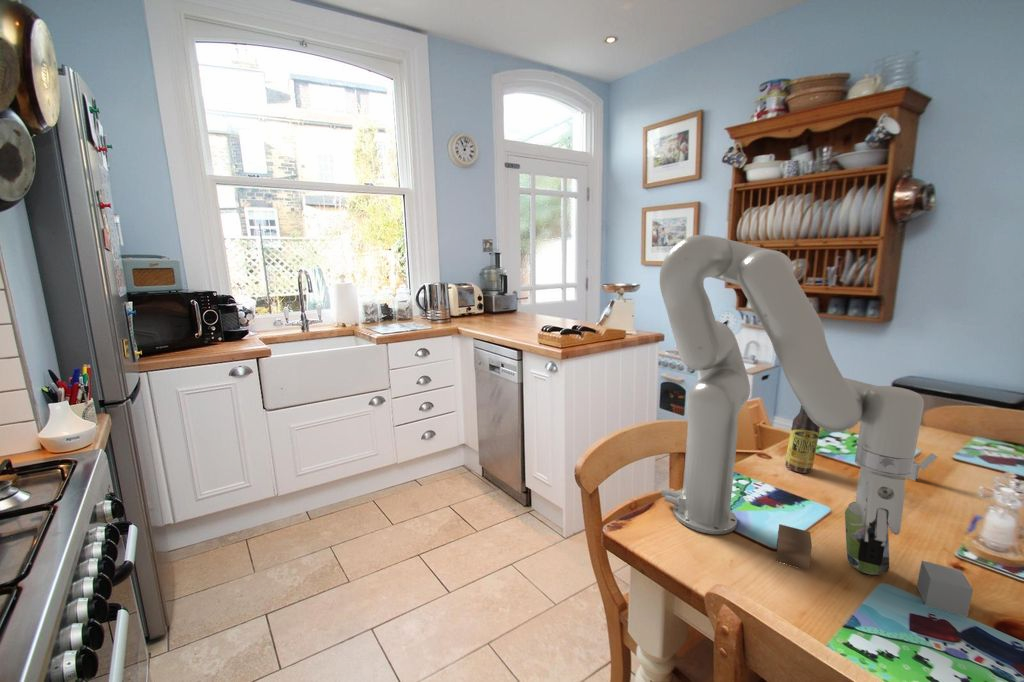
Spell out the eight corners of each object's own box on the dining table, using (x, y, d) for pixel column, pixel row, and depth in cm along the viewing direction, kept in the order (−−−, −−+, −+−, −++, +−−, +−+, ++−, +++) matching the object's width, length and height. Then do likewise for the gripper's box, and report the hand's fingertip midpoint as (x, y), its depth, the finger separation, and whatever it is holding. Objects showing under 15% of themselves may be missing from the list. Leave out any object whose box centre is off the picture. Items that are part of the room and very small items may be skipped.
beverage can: (895, 581, 78) (907, 520, 76) (848, 576, 80) (858, 516, 77) (874, 557, 84) (885, 499, 82) (831, 553, 86) (839, 496, 83)
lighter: (894, 474, 117) (899, 445, 115) (897, 473, 118) (902, 444, 116) (930, 486, 111) (936, 456, 109) (932, 484, 112) (938, 454, 110)
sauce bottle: (787, 472, 118) (796, 399, 114) (782, 462, 124) (791, 392, 120) (816, 476, 116) (827, 402, 112) (810, 466, 121) (820, 395, 118)
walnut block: (776, 562, 83) (779, 537, 82) (776, 547, 88) (779, 524, 87) (808, 571, 81) (811, 546, 80) (806, 555, 85) (810, 531, 84)
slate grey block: (925, 605, 73) (930, 578, 72) (916, 586, 78) (921, 560, 77) (966, 617, 71) (973, 589, 70) (955, 597, 75) (961, 570, 74)
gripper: (926, 486, 68) (905, 593, 71) (900, 446, 82) (883, 537, 85) (864, 474, 71) (847, 576, 75) (849, 437, 85) (835, 525, 89)
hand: (867, 554), depth 80 cm, fingers closed on beverage can, 3 cm apart
